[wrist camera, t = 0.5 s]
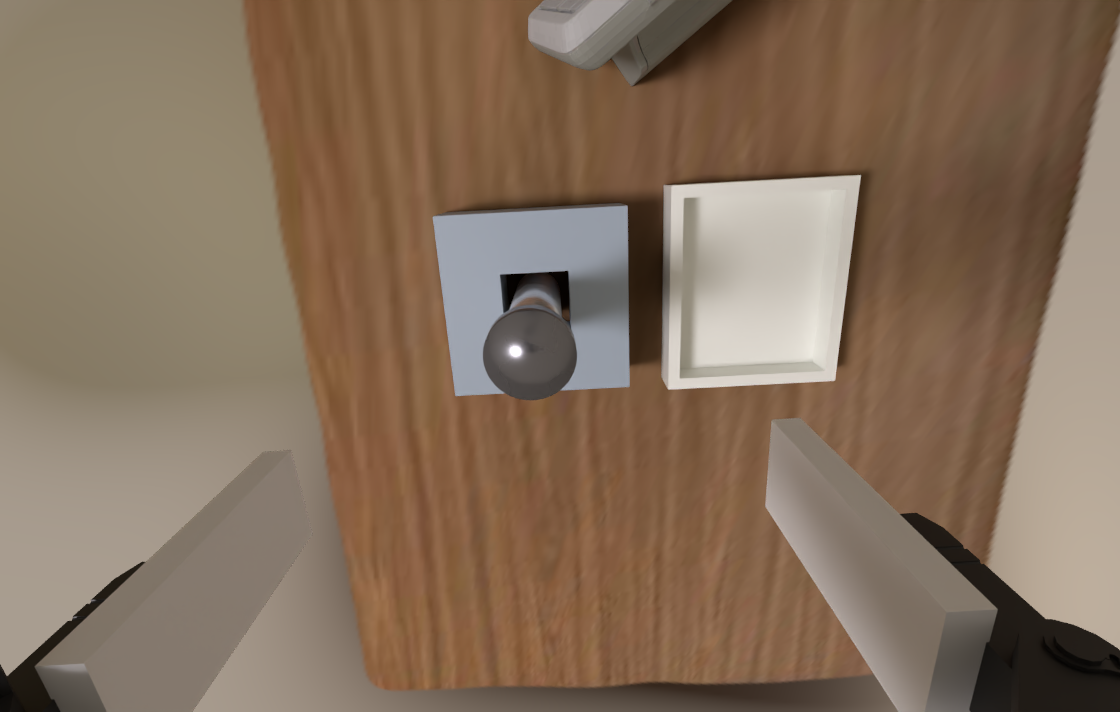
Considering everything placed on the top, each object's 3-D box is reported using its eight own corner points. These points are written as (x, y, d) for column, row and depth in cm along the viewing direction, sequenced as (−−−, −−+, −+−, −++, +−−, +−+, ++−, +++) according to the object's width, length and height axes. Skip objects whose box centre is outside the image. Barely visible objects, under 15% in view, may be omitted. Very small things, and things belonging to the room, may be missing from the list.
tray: (663, 185, 35) (671, 185, 33) (840, 175, 35) (860, 175, 33) (661, 376, 40) (668, 389, 38) (818, 368, 40) (834, 380, 38)
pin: (505, 264, 37) (478, 313, 24) (567, 261, 37) (575, 308, 24) (510, 324, 38) (487, 402, 25) (570, 321, 38) (578, 397, 25)
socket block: (445, 212, 36) (432, 216, 32) (619, 202, 36) (627, 205, 32) (464, 375, 40) (455, 395, 36) (622, 366, 40) (629, 386, 36)
